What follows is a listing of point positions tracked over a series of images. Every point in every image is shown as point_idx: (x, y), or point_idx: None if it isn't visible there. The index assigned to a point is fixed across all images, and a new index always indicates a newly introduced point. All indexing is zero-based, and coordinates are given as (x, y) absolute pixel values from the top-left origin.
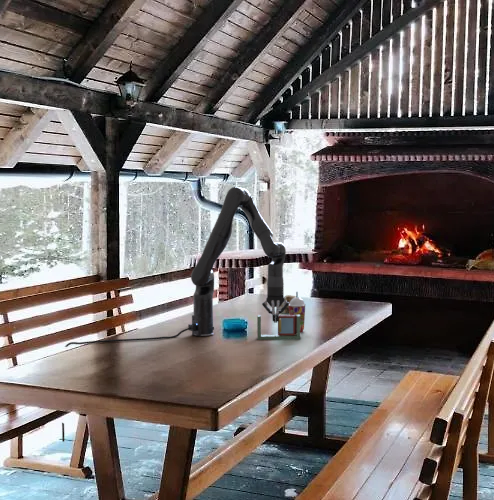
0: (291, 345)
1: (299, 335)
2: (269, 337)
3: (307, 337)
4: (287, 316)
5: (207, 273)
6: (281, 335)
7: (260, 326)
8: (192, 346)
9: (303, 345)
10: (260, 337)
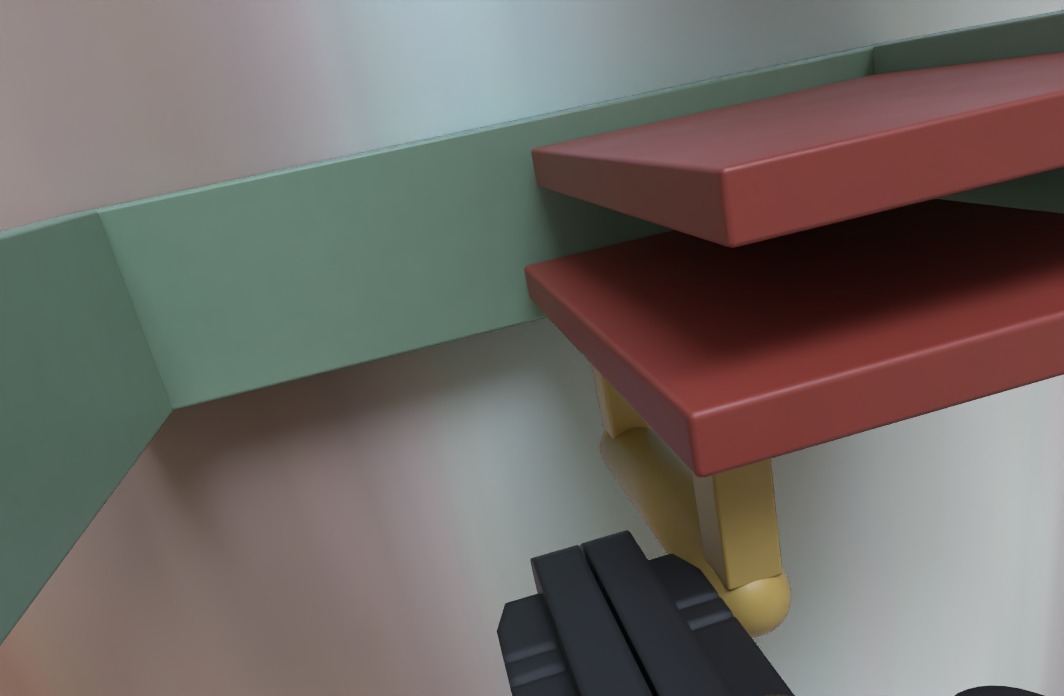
0: (786, 661)
1: None
2: (362, 358)
3: (1013, 12)
4: (1048, 370)
5: None
6: (586, 215)
7: (90, 521)
8: None
9: (938, 618)
10: (175, 406)
